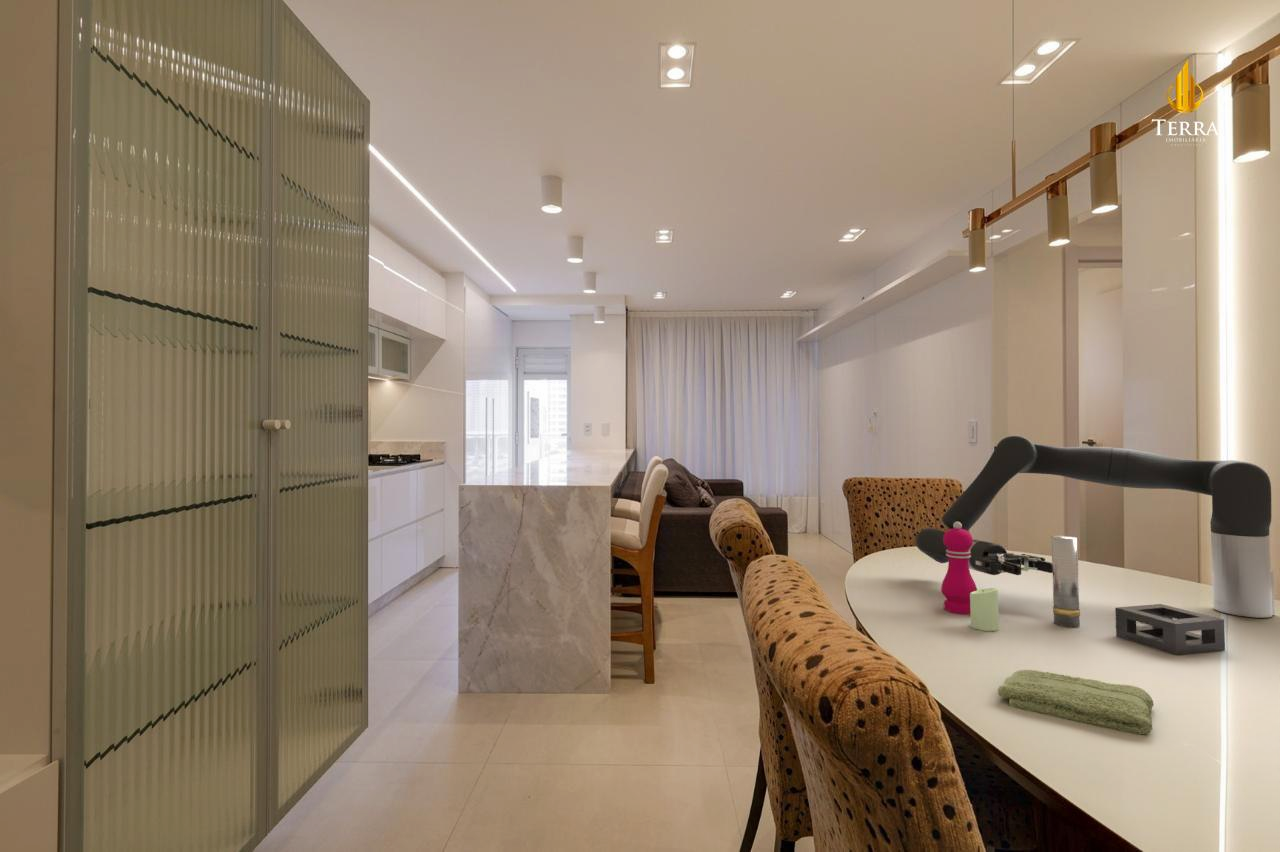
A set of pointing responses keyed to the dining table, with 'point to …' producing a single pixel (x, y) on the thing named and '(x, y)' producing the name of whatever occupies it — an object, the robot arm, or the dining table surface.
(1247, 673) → the dining table surface
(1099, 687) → the washcloth
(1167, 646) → the collar stand
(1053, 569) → the metal can
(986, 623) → the candle
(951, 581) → the pepper mill
